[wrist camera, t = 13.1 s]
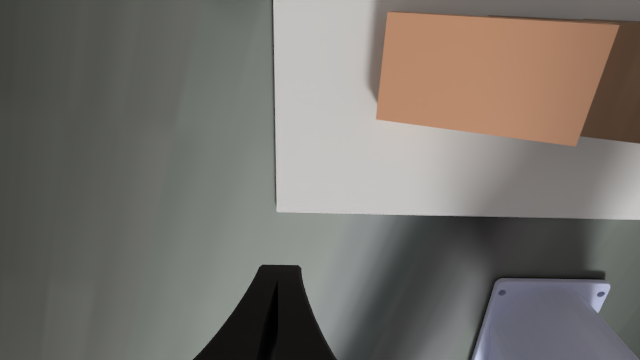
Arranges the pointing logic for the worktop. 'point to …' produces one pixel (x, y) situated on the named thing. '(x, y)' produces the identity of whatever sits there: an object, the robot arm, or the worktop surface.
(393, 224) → the worktop surface
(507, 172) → the grey mat
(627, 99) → the walnut domino
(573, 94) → the tan wooden flat block
